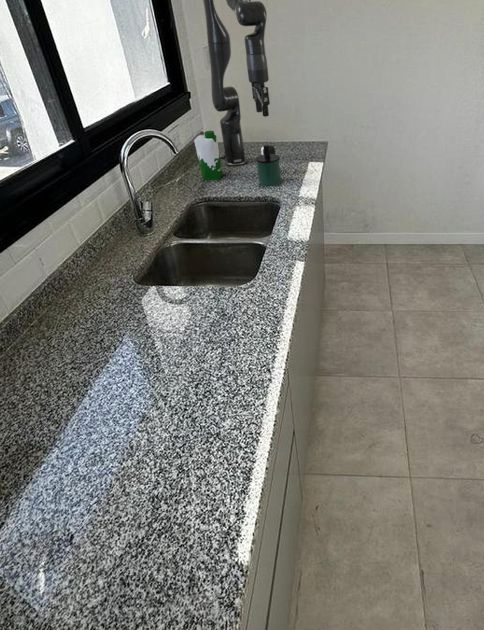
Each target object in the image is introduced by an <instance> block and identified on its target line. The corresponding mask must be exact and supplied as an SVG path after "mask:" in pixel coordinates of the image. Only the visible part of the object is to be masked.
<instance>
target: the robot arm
mask: <svg viewBox="0 0 484 630" xmlns="http://www.w3.org/2000/svg"><path fill="white" fill-rule="evenodd" d="M225 2H226V5H227V6H228V7H229V9H230V10H231V11H232V12H233V13H234V15H235V16H236V17H235V18H236V20H237V23H238V24H239V25H240V26H243V27H254V30H253V32H251V33H248V34H246V35H245V36H244V47H245V56H246V57H245V59H246V68H247V77H248V78H247V79H248V82H249V83H251V93H252V99H253V100H254V103H255V111H256V112H257V113H262V116H263V117H264V118H265V117H269V116H270V114H269V113H270V112H269V105H271V103H270V95H269V94H270V93H269V87H268V86H266V85H265V83H267V82H269V80H270V79H269V77H270V76H269V69H268V58H267V54H266V45H265V34H266V24H267V17H268V15H267V14H268V13H267V9H266V6H265V4H264V3H263V2H262V1H260V0H253V1H251V0H225ZM202 5H203V11H204V17H205V26H206V27H205V28H206V38H207V49H208V57H209V63H210V64H209V67H210V85H211V86H210V88H211V89H210V91H211V102H212V105H213V107H214V109H215V111H217V112H219V113H221V112H225V115H224V116H223V117H221V119H220V120H219V127H220V131H221V137H222V143H223V149H224V152H223V153H224V154H223V156H220V160H224V159H225V161H226V165H227V166H229V167H238V166H242V165H244V164H246V163H247V159H246V153H245V147H244V146H245V145H244V138H243V133H242V124H241V119H242V118H241V117H242V116H241V104H240V98H239V97H240V96H239V93H238V91H237V89H236V88H235V87H234V86H231V85H230V86H224V78H225V74H226V71H227V68H228V66H229V64H230V60H231V57H232V56H231V55H232V46H231V44H232V43H231V36H230V33H229V31H228V29H227V28H226V26H225V23H223V21H222V20H221V18H220V16H219V14H218V12H217V9H216V7H215V3H214V0H202Z"/></svg>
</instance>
